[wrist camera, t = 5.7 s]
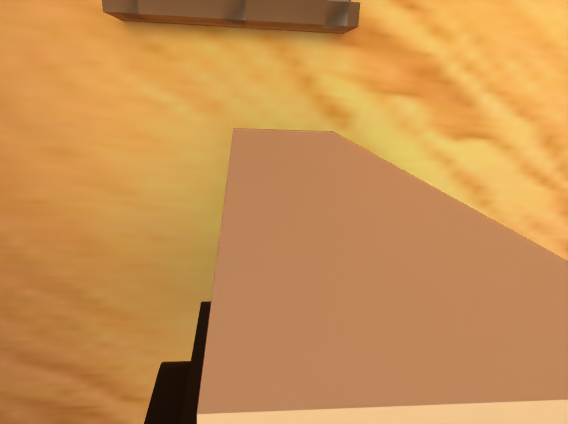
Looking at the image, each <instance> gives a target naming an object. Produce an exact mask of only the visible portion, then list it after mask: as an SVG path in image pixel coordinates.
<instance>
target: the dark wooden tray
mask: <svg viewBox="0 0 568 424" xmlns="http://www.w3.org/2000/svg"><path fill="white" fill-rule="evenodd" d="M102 4H103V12H105V13H107V14H109V15H112V16H114V17H116V18H118V19H120V20H122V21H138V22H155V23H172V24H189V25H206V26H223V27H241V28H258V29H275V30H292V31H309V32H327V33H346V32H348V31H350V30H352V29H354V28H357V27H358V21H359V10H360V3H358V2H351V0H102Z"/></svg>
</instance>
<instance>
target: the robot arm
mask: <svg viewBox="0 0 568 424" xmlns="http://www.w3.org/2000/svg"><path fill="white" fill-rule="evenodd" d="M210 308H211V302H201V306H200V312H199V318H198V323H197V329H196V335H195V341H194V347H193V352H192V358H191V361H181V362H162V363H161V365H160V368H159V372H158V375H157V379H156V382H155V386H154V390H153V393H152V397H151V400H150V404H149V408H148V411H147V415H146V418H145V422H144V424H197V409H198V402H199V394H200V386H201V378H202V370H203V363H204V355H205V347H206V339H207V332H208V324H209V316H210Z"/></svg>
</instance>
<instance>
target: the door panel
mask: <svg viewBox="0 0 568 424" xmlns="http://www.w3.org/2000/svg"><path fill="white" fill-rule="evenodd" d="M197 424H568V261H567V260H565V259H563V258H562V257H560V256H558V255H556V254H554V253H552V252H551V251H549V250H547V249H545V248H543V247H542V246H540V245H538V244H536V243H534V242H533V241H531V240H529V239H527V238H525V237H523V236H522V235H520V234H518V233H516V232H514V231H513V230H511V229H509V228H507V227H505V226H504V225H502V224H500V223H498V222H496V221H494V220H493V219H491V218H489V217H487V216H485V215H484V214H482V213H480V212H478V211H476V210H475V209H473V208H471V207H469V206H467V205H465V204H464V203H462V202H460V201H458V200H456V199H455V198H453V197H451V196H449V195H447V194H446V193H444V192H442V191H440V190H438V189H437V188H435V187H433V186H431V185H429V184H427V183H426V182H424V181H422V180H420V179H418V178H417V177H415V176H413V175H411V174H409V173H408V172H406V171H404V170H402V169H400V168H398V167H397V166H395V165H393V164H391V163H389V162H388V161H386V160H384V159H382V158H380V157H379V156H377V155H375V154H373V153H371V152H369V151H368V150H366V149H364V148H362V147H360V146H359V145H357V144H355V143H353V142H351V141H350V140H348V139H346V138H344V137H342V136H340V135H339V134H337V133H335V132H332V131H301V130H270V129H239V128H234V130H233V137H232V145H231V153H230V161H229V168H228V176H227V184H226V192H225V200H224V207H223V215H222V223H221V231H220V238H219V246H218V254H217V262H216V269H215V277H214V285H213V293H212V301H211V308H210V316H209V324H208V332H207V339H206V347H205V355H204V363H203V370H202V378H201V386H200V394H199V402H198V409H197Z"/></svg>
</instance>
